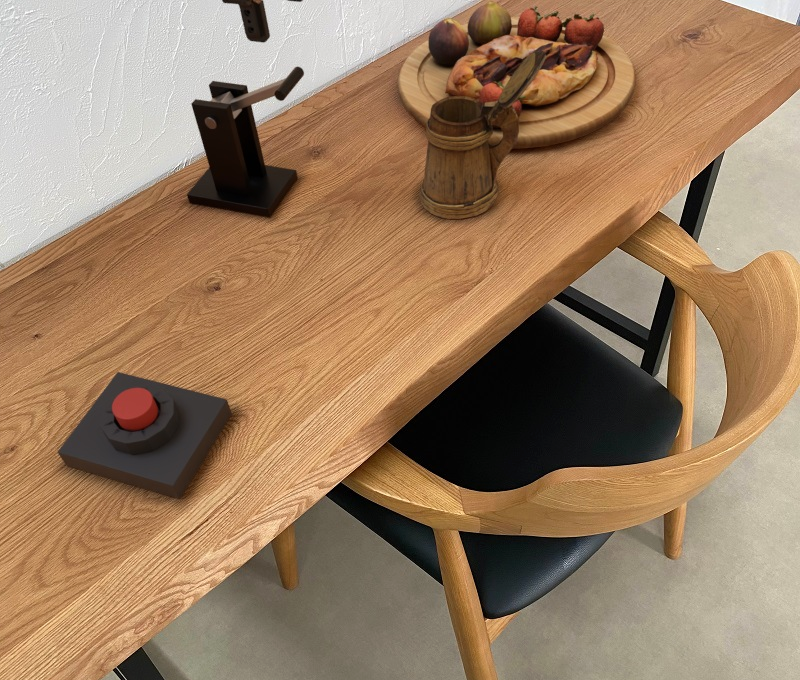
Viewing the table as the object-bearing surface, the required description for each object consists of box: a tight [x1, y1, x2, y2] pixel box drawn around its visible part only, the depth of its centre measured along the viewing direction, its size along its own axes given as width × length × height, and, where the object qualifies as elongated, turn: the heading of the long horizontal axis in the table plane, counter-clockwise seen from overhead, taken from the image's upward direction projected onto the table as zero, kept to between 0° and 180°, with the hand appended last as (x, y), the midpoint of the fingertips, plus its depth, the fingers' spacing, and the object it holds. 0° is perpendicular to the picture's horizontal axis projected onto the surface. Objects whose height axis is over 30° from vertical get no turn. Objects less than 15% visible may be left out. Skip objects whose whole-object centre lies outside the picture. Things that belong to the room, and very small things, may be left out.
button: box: [112, 388, 158, 431], centre depth 71 cm, size 4×4×2 cm
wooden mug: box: [419, 51, 547, 220], centre depth 87 cm, size 9×14×18 cm, turn 79°
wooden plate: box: [396, 0, 637, 149], centre depth 106 cm, size 32×32×8 cm
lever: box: [210, 66, 305, 119], centre depth 87 cm, size 12×5×2 cm, turn 71°
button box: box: [57, 371, 233, 500], centre depth 73 cm, size 12×10×4 cm
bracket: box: [186, 80, 299, 219], centre depth 93 cm, size 11×8×13 cm
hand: (277, 19), depth 79 cm, fingers open, 8 cm apart
